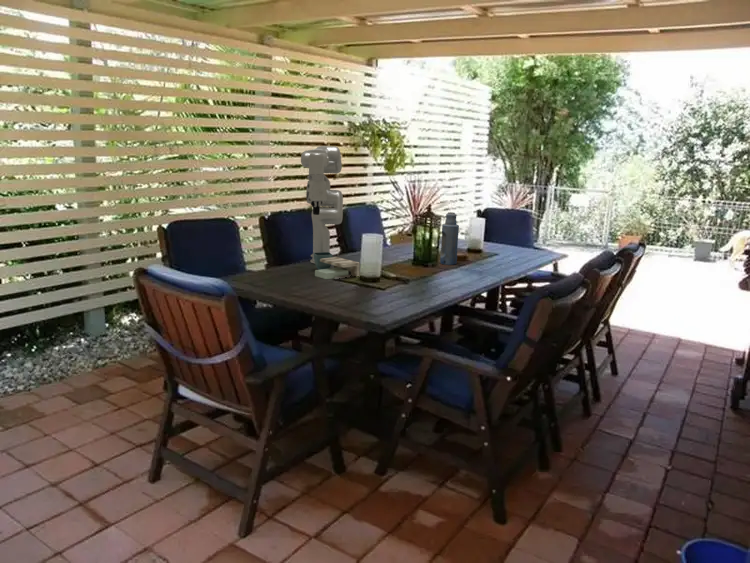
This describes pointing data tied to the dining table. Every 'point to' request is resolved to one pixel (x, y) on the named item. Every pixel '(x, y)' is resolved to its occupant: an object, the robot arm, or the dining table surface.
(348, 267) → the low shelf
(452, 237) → the bottle
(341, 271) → the pale green flat block
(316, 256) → the flower pot
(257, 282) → the dining table surface
